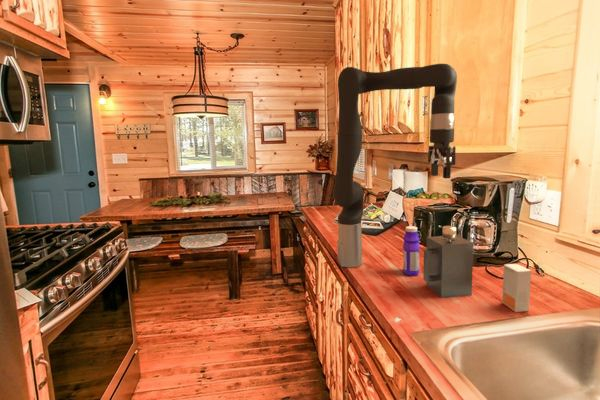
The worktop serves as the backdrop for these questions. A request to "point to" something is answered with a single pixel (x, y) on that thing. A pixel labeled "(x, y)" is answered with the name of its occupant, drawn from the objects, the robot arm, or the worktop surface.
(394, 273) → the worktop surface
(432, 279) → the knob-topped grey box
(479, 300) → the worktop surface
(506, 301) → the skincare box
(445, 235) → the plunger
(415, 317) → the worktop surface
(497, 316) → the worktop surface
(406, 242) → the bottle
